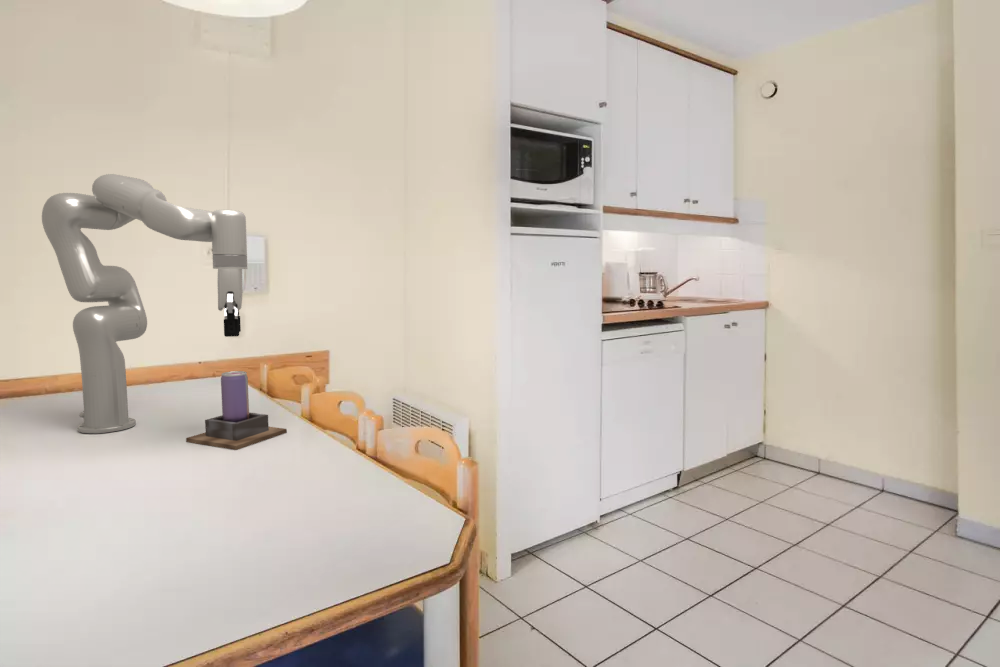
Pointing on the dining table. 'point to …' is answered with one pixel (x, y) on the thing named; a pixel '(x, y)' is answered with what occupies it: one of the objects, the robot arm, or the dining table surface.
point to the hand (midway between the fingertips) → (232, 334)
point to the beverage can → (235, 396)
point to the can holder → (236, 432)
